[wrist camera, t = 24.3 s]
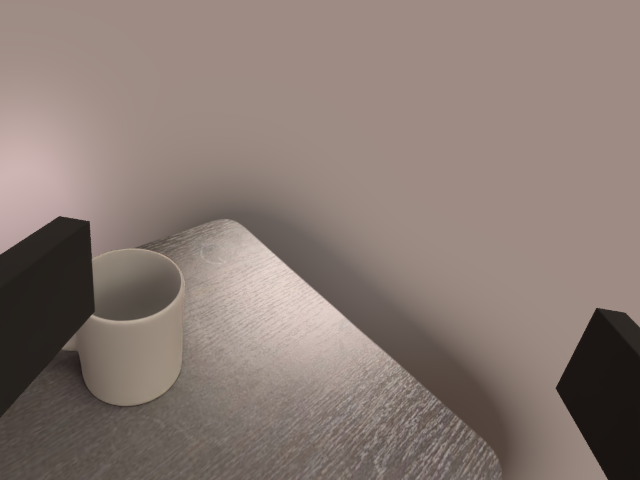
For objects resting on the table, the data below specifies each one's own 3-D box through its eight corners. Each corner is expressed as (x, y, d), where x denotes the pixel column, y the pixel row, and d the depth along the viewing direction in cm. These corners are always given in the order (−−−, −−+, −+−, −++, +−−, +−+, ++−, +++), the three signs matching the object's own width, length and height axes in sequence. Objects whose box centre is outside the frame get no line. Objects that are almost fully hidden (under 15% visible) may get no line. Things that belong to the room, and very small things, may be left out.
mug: (186, 331, 47) (190, 250, 40) (177, 407, 40) (180, 326, 33) (56, 327, 44) (37, 239, 37) (25, 408, 37) (-5, 320, 31)
